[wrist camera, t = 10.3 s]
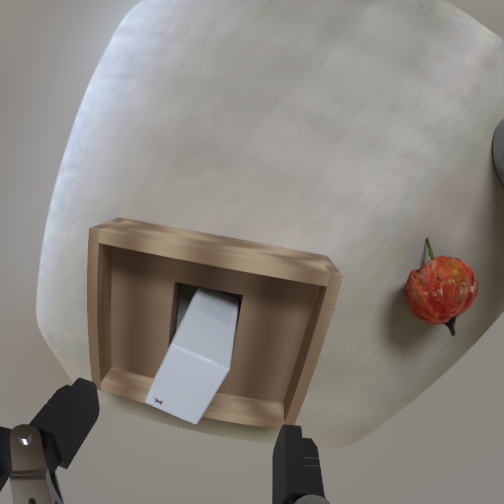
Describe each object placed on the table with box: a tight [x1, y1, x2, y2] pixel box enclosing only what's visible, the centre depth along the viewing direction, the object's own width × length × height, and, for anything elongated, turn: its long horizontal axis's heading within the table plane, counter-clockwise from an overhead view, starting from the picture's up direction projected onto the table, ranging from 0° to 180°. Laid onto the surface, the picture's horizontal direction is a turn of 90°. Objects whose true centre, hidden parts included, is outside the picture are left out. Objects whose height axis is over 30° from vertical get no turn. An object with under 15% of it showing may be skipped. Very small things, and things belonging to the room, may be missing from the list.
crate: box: [87, 218, 343, 429], centre depth 28 cm, size 20×16×6 cm
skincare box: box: [145, 287, 239, 424], centre depth 25 cm, size 6×4×12 cm
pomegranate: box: [405, 238, 478, 336], centre depth 27 cm, size 7×7×10 cm
